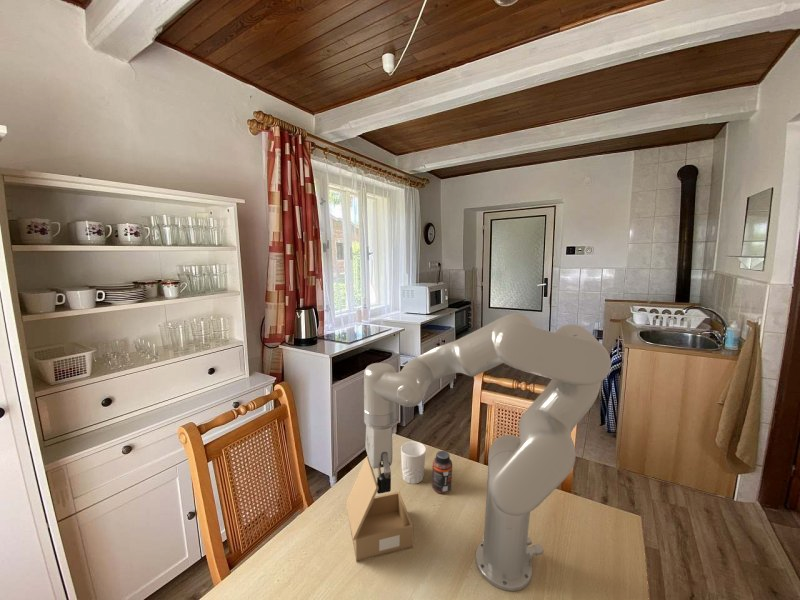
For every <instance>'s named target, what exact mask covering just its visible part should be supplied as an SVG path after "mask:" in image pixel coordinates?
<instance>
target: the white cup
mask: <svg viewBox="0 0 800 600" xmlns="http://www.w3.org/2000/svg"><path fill="white" fill-rule="evenodd" d="M426 452H427V448H426V446H425V445H424V444H423V443H422V442H420V441H419V442H418V441H416V440H415V441H414V440H413V441H406V442H403V444H402V445H401V446H400V463H401V477H402V479H403V481H404V482H405V483H407V484H412V485H416V484H419V483H421V482H422V481H423V479H424V473H425V464H426V455H427V453H426Z"/></svg>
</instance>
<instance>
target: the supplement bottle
mask: <svg viewBox="0 0 800 600" xmlns="http://www.w3.org/2000/svg"><path fill="white" fill-rule="evenodd" d="M450 457H451V456H450V453H449V452H447V451H445V450H438V451H437V452H436V456H435V458H433V460H432V471H431V472H432V474H431V476H432V477H431V487H432V489H433V491H434V492H436V493H437V494H441V495H442V494H443V495H444V494H447V493H449V492H451V490H452V484H453V483H452V480H453V479H452V478H453V477H452V476H453V461H452V459H450Z"/></svg>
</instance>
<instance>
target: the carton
mask: <svg viewBox="0 0 800 600" xmlns="http://www.w3.org/2000/svg"><path fill="white" fill-rule="evenodd" d="M408 512H409V511H408V510H407V507H406V505H405V502H404V499H403V497H402V495H401V492H400V491H397V492H390V493H386V494H382V495H377V496H376V495H375V497H374V500H373V502H372V504H371V506H370V508H369V511H368V513H367V515H366V517H365V520H364V522H363V524H362V526H361V528H360V531H359V533H358V535H357V537H356V539H355V540H353V537H352V536H351V538H352V544H353V550H354V556H355V560H356V563H357V562H361V561H366V560H370V559H372V558H377V557H380V556H384V555H388V554H394V553H396V552H400V551H404V550H407V549H412V548H414V525H413V522H412V520H411V517H410V514H409V513H408ZM348 522H349V523H350V520H349V519H348ZM349 528H350V529H351V526H350V525H349ZM350 533H351V535H352V531H351V530H350Z"/></svg>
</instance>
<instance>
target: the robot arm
mask: <svg viewBox="0 0 800 600" xmlns="http://www.w3.org/2000/svg"><path fill="white" fill-rule="evenodd" d="M502 364H505V365H507V366H509V367H511V368H513V369H516V370H517V371H518V370H519V371H520V372H521V371H522V372H524V373H525V372H526V373H528V374H531V375H532V374H533V375H535V376H539V377H543V378H547V379H551V380H550V382H549V383H548V384H547V386H546V387H545V388H544V389H543V391H542V392H541V393H540V394H539V395H538V396H537V398H536V399H535V400H534V401H533V402H532V403H531V405H530V406H529V407H528V408H527V409H526V410H525V411H524V412H523V413H522V415H521V417H520V419H519V420H518V421H519V422H518V433H519V437H518V436H517V435H513V434H504V435H501V436H499V437H497V438H496V439H495V440H494V441H493V442H492V444H491V445H490V448H489V451H488V458H487V461H488V462H487V463H488V464H487V465H488V466H487V482H486V483H487V484H486V499H485V514H484V528H483V540H482V541H481V542H480V543H479V544H478V546H477V547H476V551H475V563H476V566H477V569H478V571H479V573H480V574H481V575H482V577H483V578H484V579H485V580H486V581H487V582H488V583H490V584H491V585H492V586H495V587H496V588H499V589H500V590H503V591H513V592H515V591H520V590H522V589H525V587H527V586H528V585H529V584H530V582H531V578H532V575H533V566H532V561H531V560H532V559H533V557H535V556H536V557H537V556H540V555H543V554H544V549H543V548H544V547H543V546H542V545H541V544H540V543H539V544H534V545H532V544H533V543H532V539H531V538H530V537H529V528H530V527H529V526H530V515H531V512H532V511H534V510H535V509H537V508H538V507H539V506H540V505H541V504H542V503H543V502H544V501H545V500H546V499H547V498H548V497H549V496H550V495H551V494H552V493H553V492H554V491H555V490H556V489H557V488H558V487H559V486H560V485H561V484H562V483H563V482H564V481H565V480H566V479H567V478H568V476H570V473H572V470H573V468H574V466H575V463H576V457H577V456H576V455H577V453H576V446H575V443H574V441H573V438H572V432H573V430H574V429H575V428H576V426H577V425H578V424H579V423H580V422H581V420H582V419H583V418H584V417H585V415H586V414H587V412H589V410H590V409H591V407H593V405H594V404H595V401H596V400H597V398H598V396H599V392H600V389H601V384H602V381H603V380H605V378H607V376H608V375H609V373H610V372H611V366H612V360H611V357H610V354H609V352H608V350H607V349H606V348H605V346H604V345H603V344H602V343H601V342H600V341H599V340H598V339H597V338H596V337H595V336H594V334H592V333H591V332H590V331H589V330H587V329H586V328H585V327H583V326H581V325H577V324H573V323H571V324H566V325H562V326H561V327H559V328H558V329H556V330H555V332H554V331H550V330H547V329H543V328H539V327H537V326H536V325H535V323H534V322H533V321H532V320H531V319H530V318H529V317H527V316H526V315H525V314H521V313H518V312H517V313H509V314H506V315H504V316H501V317H499V318H497V319H496V320H494V321H492V322H490V323H488V324H486V325H484V326H482V327H480V328H478V329H477V330H474V331H473V332H471V333H469V334H466V335H465V336H463V337H461V338H459V339H456V340H454V341H450V342H447V343H445V344H442V345H439V346H437V347H433V348H431V349H429V350H428V351H426V352H424V353H421V354H420V355H418V356H415V358H412V359H411V360H409V361H408V362H407V363H406V364H405V365H404V366H403V367H402V369H400V371H398V372H397V370H396V369H395V367H394V366H393V365H392V364H390V363H385V362H375V363H371V364H369V365H367V366H366V368H365V369H364V372H363V422H364V424H365V425H366V426H365V447H364V448H365V451H366V454H367V457H368V458H369V461H370V464H371V467H372V469H374V470H375V469H376V470H377V474H378V475H377V477H376V481H377V485H378V491H377V493H376V494H378V495H379V494H384V493H389V492H390V493H391V491H392V482H391V481H392V473H391V471H392V470H391V469H392V468H391V466H392V464H393V425H394V424H395V422H396V406H397V405H400V406H402V407H407V408H412V407H416V406H418V405H419V404H421V403H422V401H423V399H424V398H425V395H426V393H427V391H428V388H429V386H430V384H432V383H434V382H436V381H439V380H441V379H442V378H445V377H447V376H450V375H452V374H463V375H466V376H468V377H475V376H477V375H481V374H483V373H484V372H486V371H489V370H491V369H494V368H496V367H498V366H500V365H502ZM396 404H397V405H396ZM381 468H383V472H382V470H381ZM531 545H532V546H531Z"/></svg>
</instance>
